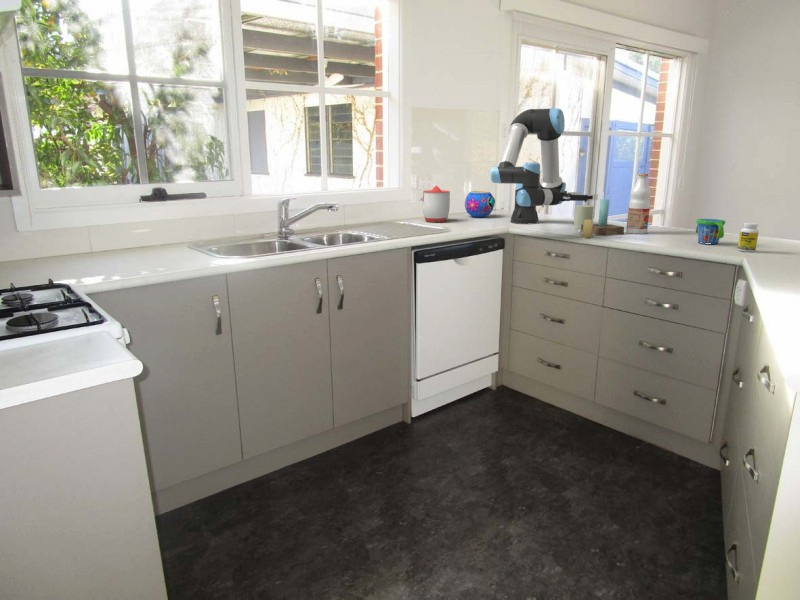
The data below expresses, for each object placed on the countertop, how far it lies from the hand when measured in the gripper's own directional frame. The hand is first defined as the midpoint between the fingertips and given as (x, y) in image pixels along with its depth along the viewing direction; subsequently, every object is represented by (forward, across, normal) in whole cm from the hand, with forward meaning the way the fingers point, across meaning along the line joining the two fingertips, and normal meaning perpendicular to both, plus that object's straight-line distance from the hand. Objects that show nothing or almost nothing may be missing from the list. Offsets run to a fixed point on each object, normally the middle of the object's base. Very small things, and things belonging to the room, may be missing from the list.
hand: (588, 195), depth 264 cm
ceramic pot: (-18, -79, -18) cm, 83 cm away
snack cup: (+32, +41, -18) cm, 55 cm away
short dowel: (-6, +9, -18) cm, 21 cm away
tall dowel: (+10, 0, -18) cm, 20 cm away
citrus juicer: (-51, -68, -18) cm, 87 cm away
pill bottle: (+32, +60, -18) cm, 71 cm away
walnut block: (+10, 0, -18) cm, 20 cm away
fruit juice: (+26, +5, -18) cm, 32 cm away
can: (+11, -17, -18) cm, 27 cm away
